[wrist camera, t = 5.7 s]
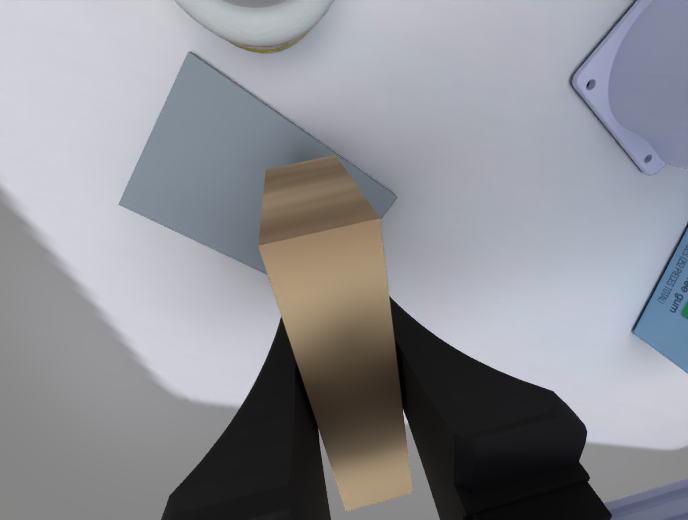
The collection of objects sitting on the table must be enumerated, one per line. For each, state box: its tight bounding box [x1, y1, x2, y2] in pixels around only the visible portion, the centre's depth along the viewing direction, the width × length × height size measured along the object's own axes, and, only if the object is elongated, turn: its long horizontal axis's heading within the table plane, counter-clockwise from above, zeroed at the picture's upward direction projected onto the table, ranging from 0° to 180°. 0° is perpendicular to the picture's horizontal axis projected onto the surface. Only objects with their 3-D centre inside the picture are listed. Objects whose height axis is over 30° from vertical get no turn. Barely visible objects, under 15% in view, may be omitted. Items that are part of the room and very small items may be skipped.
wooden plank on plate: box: [258, 155, 413, 512], centre depth 12 cm, size 11×2×6 cm, turn 9°
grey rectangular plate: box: [118, 52, 398, 275], centre depth 18 cm, size 12×8×1 cm, turn 54°
